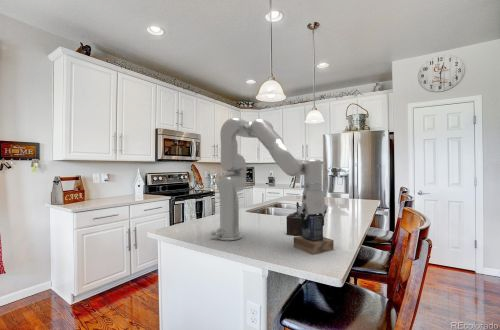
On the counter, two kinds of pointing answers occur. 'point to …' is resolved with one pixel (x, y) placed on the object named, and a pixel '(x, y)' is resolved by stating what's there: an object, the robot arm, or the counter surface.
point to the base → (313, 245)
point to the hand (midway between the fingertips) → (313, 226)
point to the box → (314, 228)
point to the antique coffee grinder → (294, 223)
